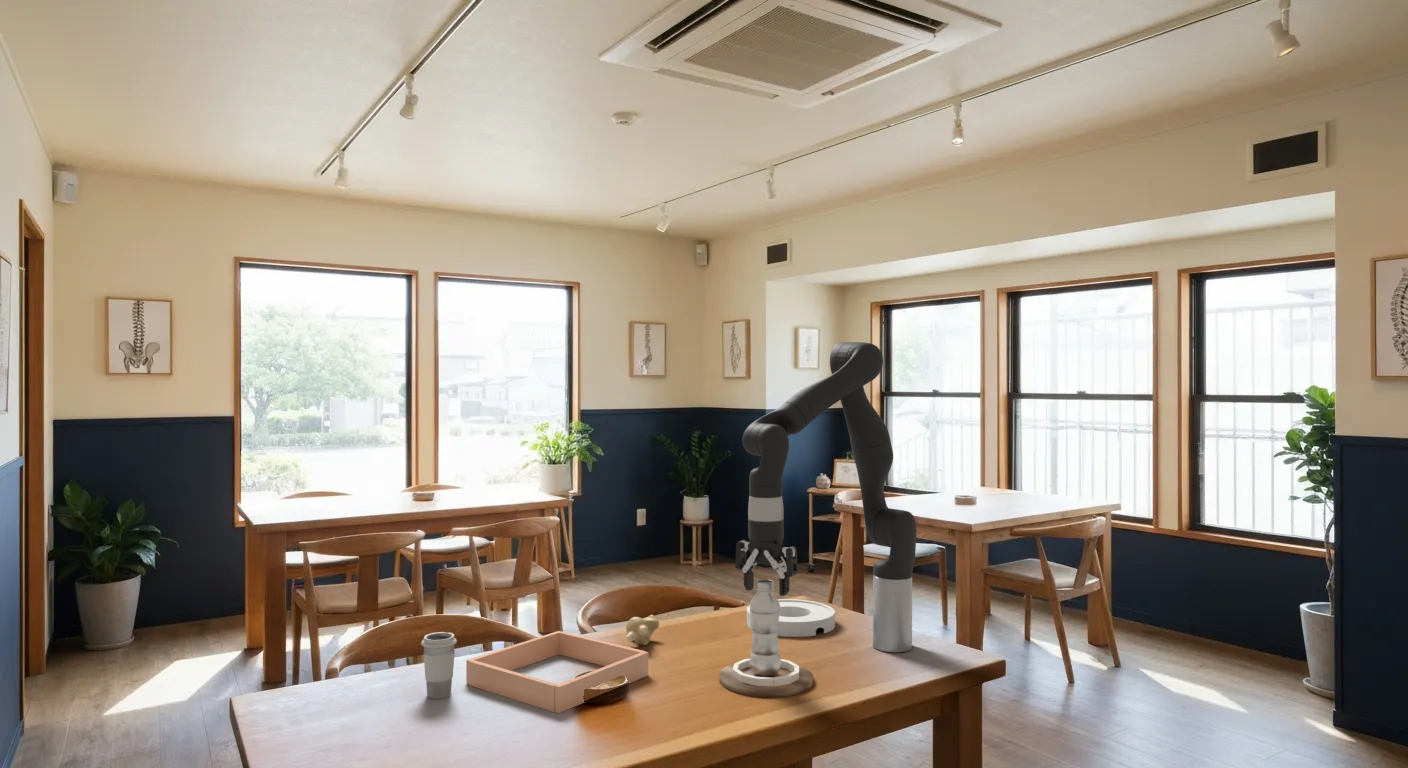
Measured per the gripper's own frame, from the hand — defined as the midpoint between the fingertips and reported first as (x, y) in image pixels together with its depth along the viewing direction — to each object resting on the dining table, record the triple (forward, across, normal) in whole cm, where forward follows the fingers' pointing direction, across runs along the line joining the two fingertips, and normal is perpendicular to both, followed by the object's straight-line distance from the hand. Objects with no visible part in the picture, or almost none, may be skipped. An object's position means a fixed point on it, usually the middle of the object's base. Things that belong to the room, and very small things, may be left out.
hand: (766, 592), depth 191 cm
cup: (+18, +49, +47) cm, 71 cm away
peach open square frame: (+18, +36, +26) cm, 48 cm away
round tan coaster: (+19, 0, 0) cm, 19 cm away
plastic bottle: (+18, 0, 0) cm, 18 cm away
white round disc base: (+20, +18, -41) cm, 49 cm away
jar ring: (+18, 0, 0) cm, 18 cm away
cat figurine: (+19, +38, -3) cm, 43 cm away
